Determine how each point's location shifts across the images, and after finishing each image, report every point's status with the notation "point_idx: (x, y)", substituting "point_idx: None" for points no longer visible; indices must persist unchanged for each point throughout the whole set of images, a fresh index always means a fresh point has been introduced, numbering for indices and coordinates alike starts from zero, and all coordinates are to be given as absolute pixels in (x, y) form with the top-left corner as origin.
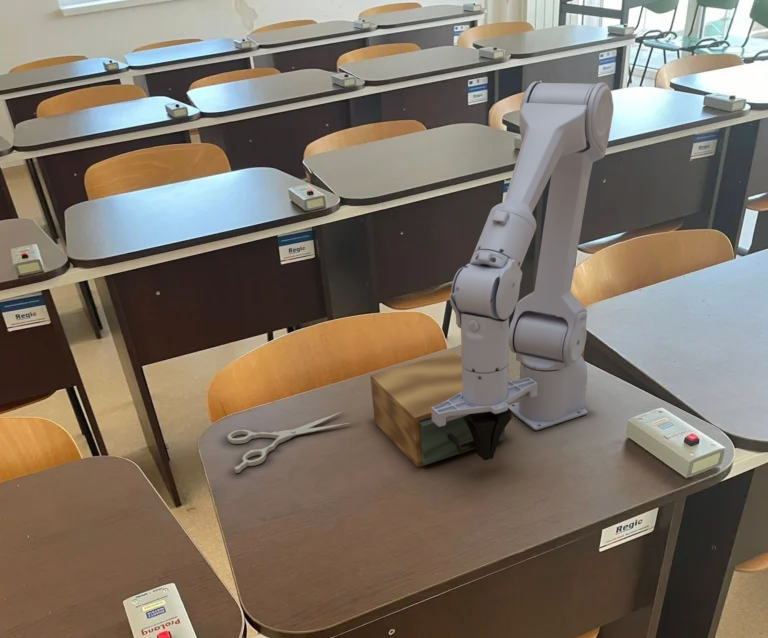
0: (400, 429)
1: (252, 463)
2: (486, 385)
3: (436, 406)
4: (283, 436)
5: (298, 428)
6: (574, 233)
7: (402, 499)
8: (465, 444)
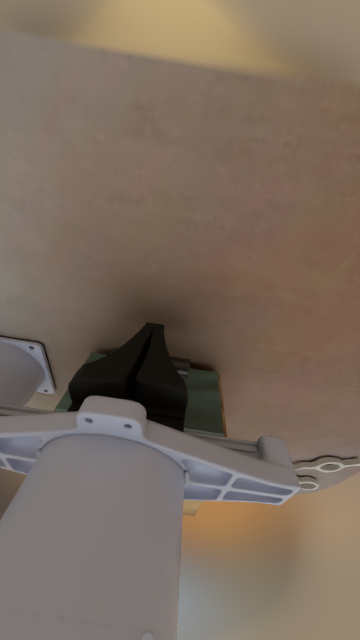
0: None
1: (339, 461)
2: (124, 582)
3: (264, 500)
4: None
5: None
6: None
7: (286, 342)
8: (178, 368)
